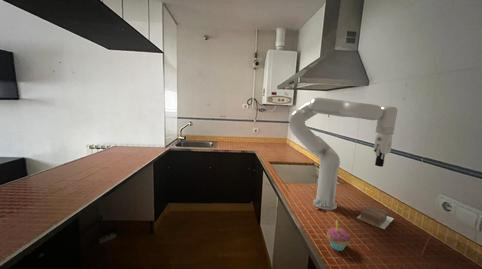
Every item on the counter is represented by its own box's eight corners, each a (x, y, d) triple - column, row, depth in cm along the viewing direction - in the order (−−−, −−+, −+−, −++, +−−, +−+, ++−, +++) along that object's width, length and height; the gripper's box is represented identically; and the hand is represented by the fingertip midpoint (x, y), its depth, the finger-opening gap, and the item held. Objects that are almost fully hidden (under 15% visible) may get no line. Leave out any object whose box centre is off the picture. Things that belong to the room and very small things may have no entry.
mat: (384, 230, 94) (384, 229, 94) (356, 218, 103) (356, 217, 103) (393, 219, 104) (393, 218, 104) (367, 209, 113) (367, 208, 113)
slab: (386, 219, 102) (378, 227, 95) (368, 213, 108) (359, 220, 101) (387, 212, 102) (379, 219, 94) (369, 205, 108) (361, 212, 100)
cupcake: (338, 256, 75) (341, 226, 74) (320, 242, 83) (323, 214, 81) (354, 251, 79) (358, 222, 77) (335, 237, 86) (339, 211, 85)
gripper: (387, 132, 95) (381, 169, 98) (398, 131, 104) (392, 166, 107) (370, 130, 101) (364, 165, 104) (381, 129, 110) (376, 162, 113)
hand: (378, 165), depth 105 cm, fingers closed
